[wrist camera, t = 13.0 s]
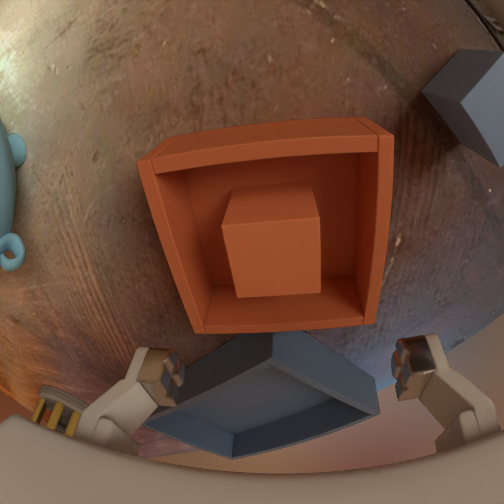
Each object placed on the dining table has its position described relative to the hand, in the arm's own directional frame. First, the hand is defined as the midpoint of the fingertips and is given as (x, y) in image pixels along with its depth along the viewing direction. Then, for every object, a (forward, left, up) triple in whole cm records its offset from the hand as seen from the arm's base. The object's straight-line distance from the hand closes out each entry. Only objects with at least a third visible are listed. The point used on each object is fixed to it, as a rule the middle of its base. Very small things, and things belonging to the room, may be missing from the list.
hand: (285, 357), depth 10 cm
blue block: (-12, -8, -11) cm, 18 cm away
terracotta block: (+1, 0, -10) cm, 10 cm away
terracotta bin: (0, 0, -11) cm, 11 cm away
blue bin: (+5, +22, -11) cm, 25 cm away
